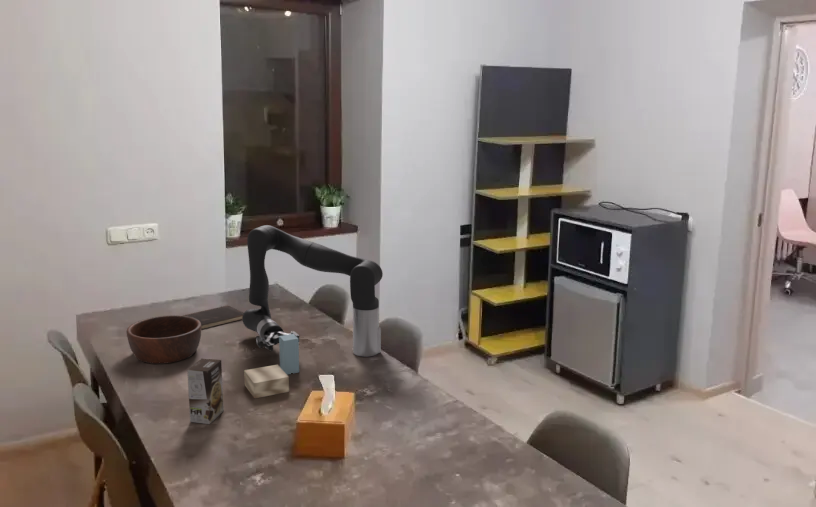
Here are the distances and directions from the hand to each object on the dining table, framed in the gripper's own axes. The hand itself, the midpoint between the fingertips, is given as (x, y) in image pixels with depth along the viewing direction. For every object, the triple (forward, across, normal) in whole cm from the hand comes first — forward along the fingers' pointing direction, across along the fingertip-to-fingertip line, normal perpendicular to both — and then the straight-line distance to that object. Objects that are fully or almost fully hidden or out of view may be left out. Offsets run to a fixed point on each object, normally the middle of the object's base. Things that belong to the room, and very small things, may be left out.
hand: (284, 346), depth 240 cm
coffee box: (+26, -32, +7) cm, 42 cm away
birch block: (+15, -11, +7) cm, 20 cm away
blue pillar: (+5, 0, +7) cm, 9 cm away
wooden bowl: (-29, -34, +7) cm, 45 cm away
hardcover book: (-59, -11, +8) cm, 60 cm away
